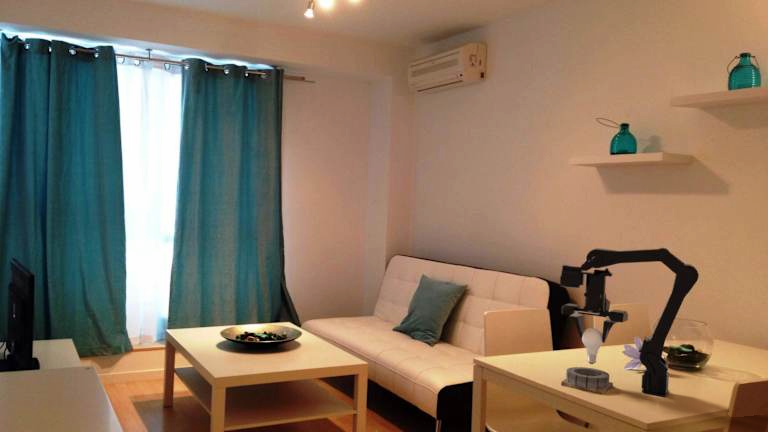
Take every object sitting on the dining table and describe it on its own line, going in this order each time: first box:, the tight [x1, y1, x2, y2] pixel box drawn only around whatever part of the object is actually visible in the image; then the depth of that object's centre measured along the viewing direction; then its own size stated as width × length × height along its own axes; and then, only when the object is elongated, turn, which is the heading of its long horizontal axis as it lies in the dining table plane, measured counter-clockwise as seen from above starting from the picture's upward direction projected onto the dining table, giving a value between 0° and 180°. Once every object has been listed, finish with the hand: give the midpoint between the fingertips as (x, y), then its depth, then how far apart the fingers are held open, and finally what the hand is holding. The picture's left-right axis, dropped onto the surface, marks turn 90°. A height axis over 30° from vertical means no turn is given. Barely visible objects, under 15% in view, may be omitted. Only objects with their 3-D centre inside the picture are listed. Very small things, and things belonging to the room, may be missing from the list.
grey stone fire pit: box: [560, 366, 614, 394], centre depth 199 cm, size 12×12×4 cm
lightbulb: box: [581, 327, 604, 365], centre depth 201 cm, size 6×6×11 cm
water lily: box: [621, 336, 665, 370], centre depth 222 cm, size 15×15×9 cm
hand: (592, 340), depth 201 cm, fingers closed on lightbulb, 6 cm apart
